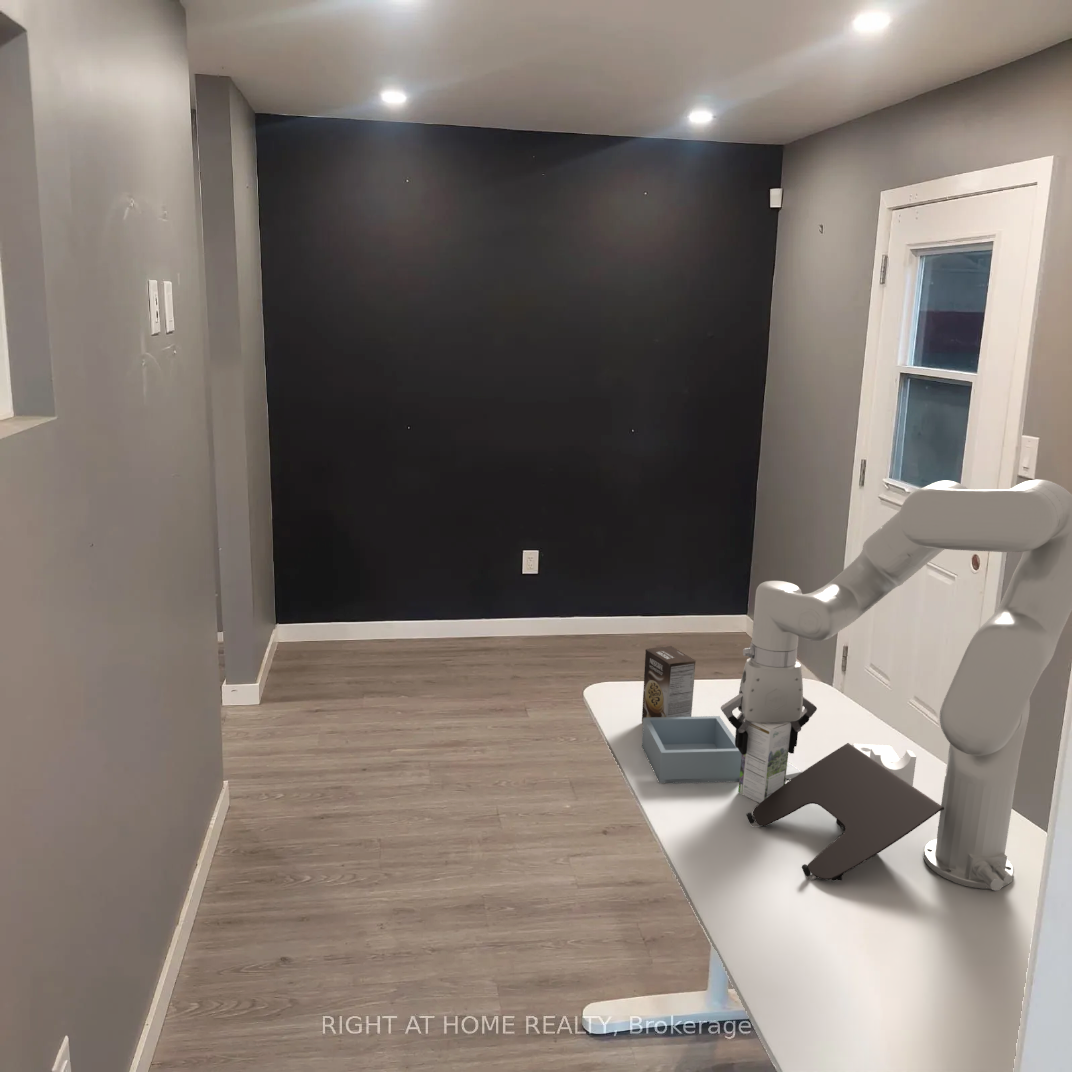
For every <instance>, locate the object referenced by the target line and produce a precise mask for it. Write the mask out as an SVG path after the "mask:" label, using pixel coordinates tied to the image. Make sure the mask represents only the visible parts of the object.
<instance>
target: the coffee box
mask: <svg viewBox="0 0 1072 1072" xmlns="http://www.w3.org/2000/svg"><path fill="white" fill-rule="evenodd" d="M696 662H697V660H696V659H694V658H693V657H690V656H689V655H687V654H685V653H684V652H682V651H680V650H679V649H677V648H675V647H674V646H672V645H669V646H657V647H649V648H646V649H645V657H644V676H643V692H642V693H643V695H642V710H641V711H642V713H641V723H642V724H643V718H648V717H692V714H693V713H692V712H693V701H694V700H693V699H694V686H695V678H696V677H695V676H696V674H695V673H696Z"/></svg>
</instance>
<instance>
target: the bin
mask: <svg viewBox="0 0 1072 1072" xmlns="http://www.w3.org/2000/svg"><path fill="white" fill-rule="evenodd" d="M641 733H642V735H641V747H642V750H643V752H644V754H645V755H646V758H648V759H647V760H649V761H648V762H649V765H650V764H651V765H650V766H652V767H651V769H652V768H653V769H652V771H653V770H654V771H653V773H654V775H655V777H656V779H658V780H657V781H659V782H658V784H659V783H673V784H702V783H704V784H705V783H706V784H709V783H736V782H738V783H739V778H740V767H741V756H742V754H741V752H740V751H739V750H738V748H736V746H735V736H734V735H733V733H732V732H731V730H730V729H729V728H728V726H727V725H726V723H725V721H724V720H723V719H722V718H721V717H720V715H713V716H712V715H711V716H710V715H707V716H705V715H704V716H702V715H701V716H691V717H648V718H643V723H642V732H641Z"/></svg>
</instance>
